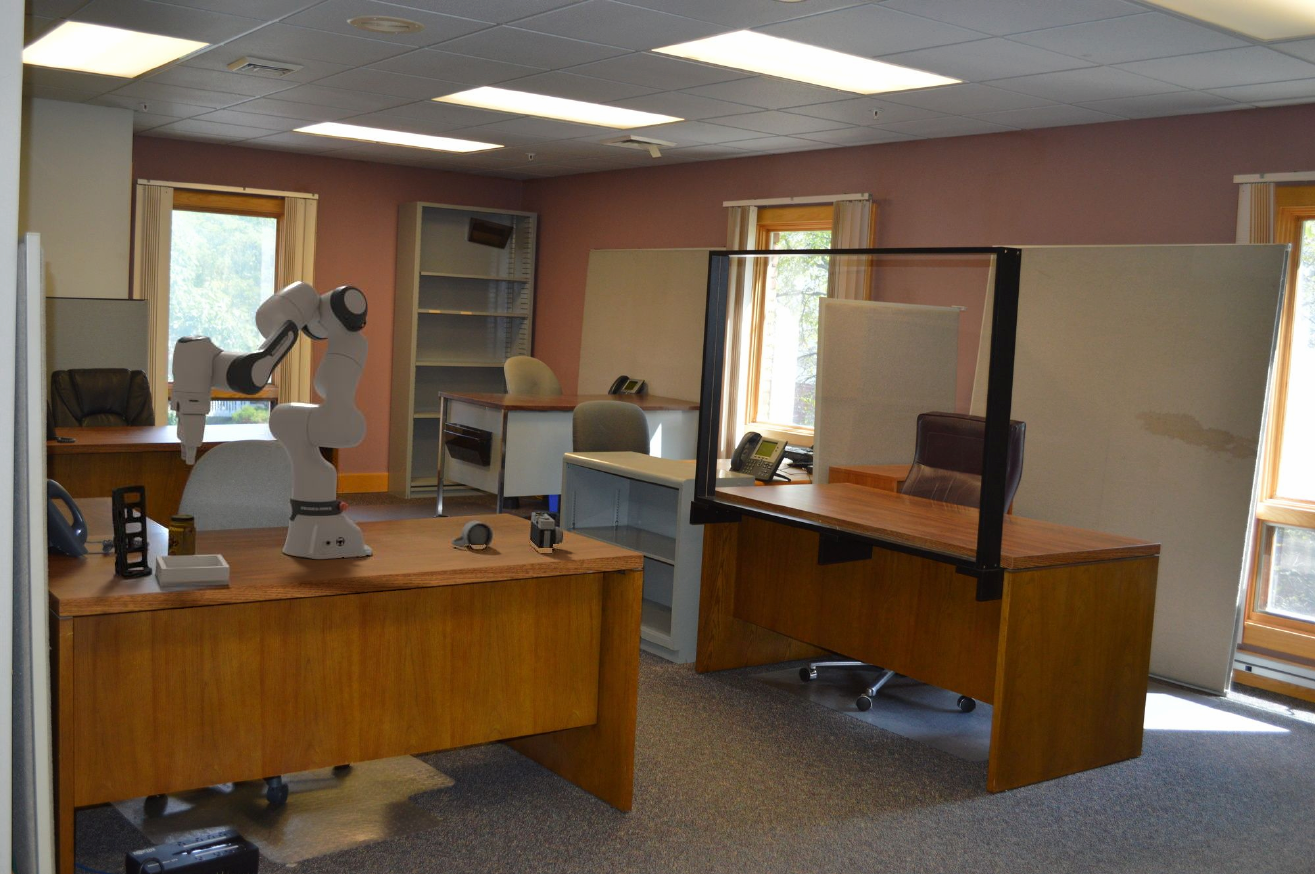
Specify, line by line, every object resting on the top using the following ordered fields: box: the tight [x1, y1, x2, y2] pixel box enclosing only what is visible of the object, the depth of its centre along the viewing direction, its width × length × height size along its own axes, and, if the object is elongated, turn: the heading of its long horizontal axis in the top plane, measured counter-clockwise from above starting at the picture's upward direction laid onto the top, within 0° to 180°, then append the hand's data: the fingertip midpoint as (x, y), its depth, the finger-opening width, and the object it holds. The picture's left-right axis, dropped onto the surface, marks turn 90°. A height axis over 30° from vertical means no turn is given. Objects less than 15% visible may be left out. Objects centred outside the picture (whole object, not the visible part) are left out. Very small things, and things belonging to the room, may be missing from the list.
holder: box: [110, 484, 153, 580], centre depth 257 cm, size 11×8×20 cm
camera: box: [529, 511, 564, 549], centre depth 324 cm, size 14×8×10 cm, turn 17°
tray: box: [155, 554, 231, 588], centre depth 257 cm, size 14×14×4 cm
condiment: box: [167, 514, 197, 556], centre depth 270 cm, size 7×8×12 cm
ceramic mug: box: [451, 520, 494, 547], centre depth 319 cm, size 11×8×8 cm
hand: (187, 461), depth 268 cm, fingers open, 8 cm apart
